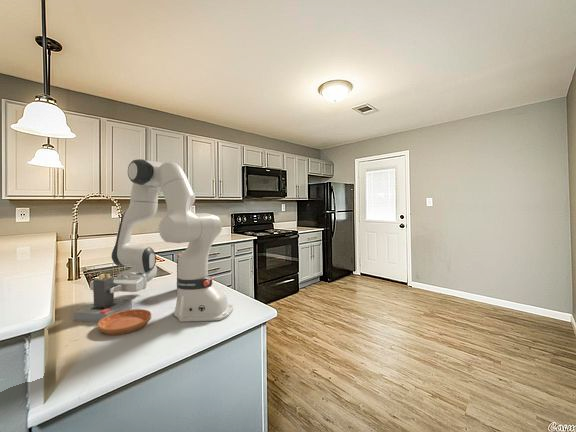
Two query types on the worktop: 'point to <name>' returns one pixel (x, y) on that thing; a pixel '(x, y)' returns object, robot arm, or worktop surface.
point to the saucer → (124, 321)
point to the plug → (103, 290)
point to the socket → (101, 311)
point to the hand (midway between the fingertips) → (101, 290)
